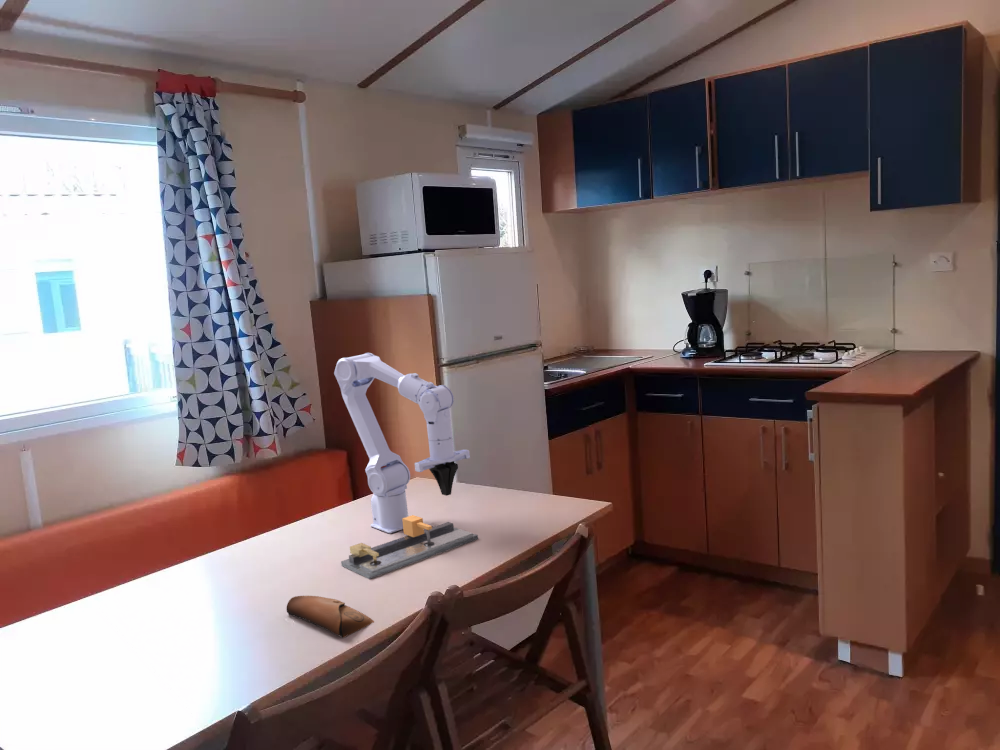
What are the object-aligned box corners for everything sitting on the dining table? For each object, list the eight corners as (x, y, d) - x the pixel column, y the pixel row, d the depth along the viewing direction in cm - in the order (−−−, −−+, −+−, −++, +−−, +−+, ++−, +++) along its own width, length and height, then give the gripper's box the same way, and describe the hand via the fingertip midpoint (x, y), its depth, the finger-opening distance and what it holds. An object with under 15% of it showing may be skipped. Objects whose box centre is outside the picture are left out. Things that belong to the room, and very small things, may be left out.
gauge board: (341, 565, 176) (339, 548, 175) (447, 528, 194) (446, 513, 193) (369, 579, 166) (367, 560, 166) (478, 539, 184) (476, 522, 184)
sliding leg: (404, 536, 185) (402, 518, 184) (415, 533, 186) (413, 515, 186) (426, 545, 178) (423, 526, 177) (437, 541, 179) (435, 522, 179)
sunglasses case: (379, 620, 146) (360, 597, 143) (354, 652, 142) (334, 629, 139) (323, 598, 158) (304, 577, 155) (299, 627, 154) (279, 606, 151)
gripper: (424, 446, 179) (430, 505, 180) (475, 433, 188) (480, 489, 189) (407, 443, 184) (413, 500, 186) (457, 430, 193) (463, 484, 195)
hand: (446, 494), depth 188 cm, fingers closed
